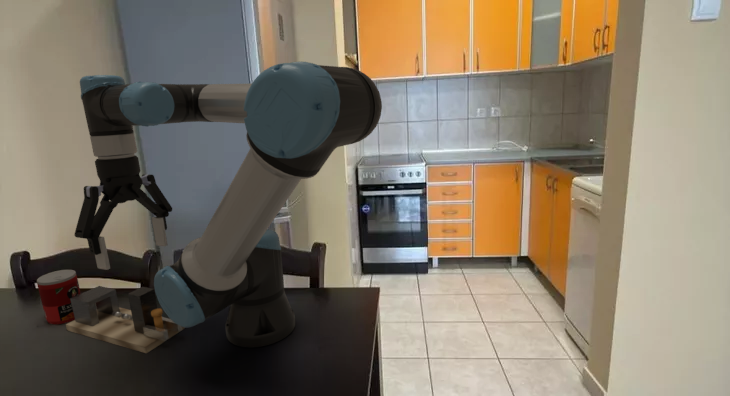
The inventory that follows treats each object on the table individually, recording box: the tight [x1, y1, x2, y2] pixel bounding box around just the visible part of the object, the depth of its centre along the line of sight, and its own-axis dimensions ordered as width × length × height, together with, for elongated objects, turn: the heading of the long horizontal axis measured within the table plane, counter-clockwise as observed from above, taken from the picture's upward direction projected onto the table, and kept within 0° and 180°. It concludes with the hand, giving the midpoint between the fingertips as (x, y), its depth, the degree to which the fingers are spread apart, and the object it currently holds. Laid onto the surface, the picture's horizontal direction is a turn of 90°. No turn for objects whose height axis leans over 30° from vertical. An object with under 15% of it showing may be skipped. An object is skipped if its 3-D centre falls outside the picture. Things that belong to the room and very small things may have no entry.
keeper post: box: [151, 307, 164, 329], centre depth 88 cm, size 2×2×5 cm
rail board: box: [65, 306, 185, 354], centre depth 93 cm, size 26×10×2 cm, turn 67°
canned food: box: [36, 269, 82, 325], centre depth 99 cm, size 8×8×11 cm
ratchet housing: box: [70, 285, 120, 326], centre depth 96 cm, size 6×7×6 cm
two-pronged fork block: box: [112, 286, 183, 342], centre depth 89 cm, size 19×5×9 cm, turn 67°
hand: (135, 256), depth 86 cm, fingers open, 13 cm apart
